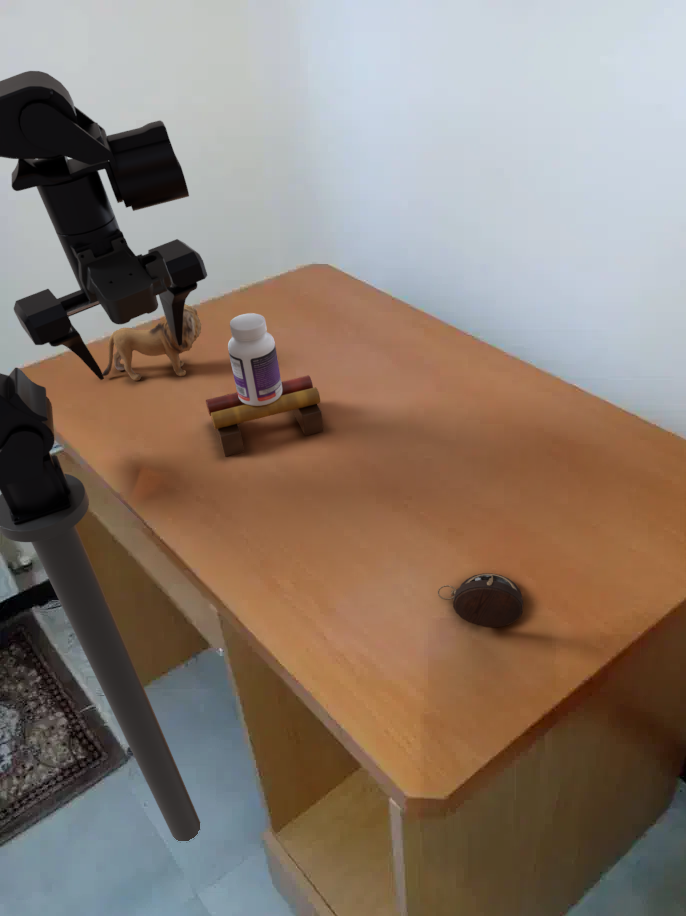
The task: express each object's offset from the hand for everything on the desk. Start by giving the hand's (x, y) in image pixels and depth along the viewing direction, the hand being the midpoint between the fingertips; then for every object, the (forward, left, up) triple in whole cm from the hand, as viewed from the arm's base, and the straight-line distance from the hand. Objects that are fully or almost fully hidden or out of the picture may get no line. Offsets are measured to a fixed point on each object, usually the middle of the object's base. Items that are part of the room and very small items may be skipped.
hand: (140, 361), depth 86 cm
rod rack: (+12, -1, -13) cm, 18 cm away
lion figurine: (+4, +20, -13) cm, 24 cm away
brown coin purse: (+19, -39, -13) cm, 46 cm away
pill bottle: (+12, -1, -8) cm, 15 cm away
